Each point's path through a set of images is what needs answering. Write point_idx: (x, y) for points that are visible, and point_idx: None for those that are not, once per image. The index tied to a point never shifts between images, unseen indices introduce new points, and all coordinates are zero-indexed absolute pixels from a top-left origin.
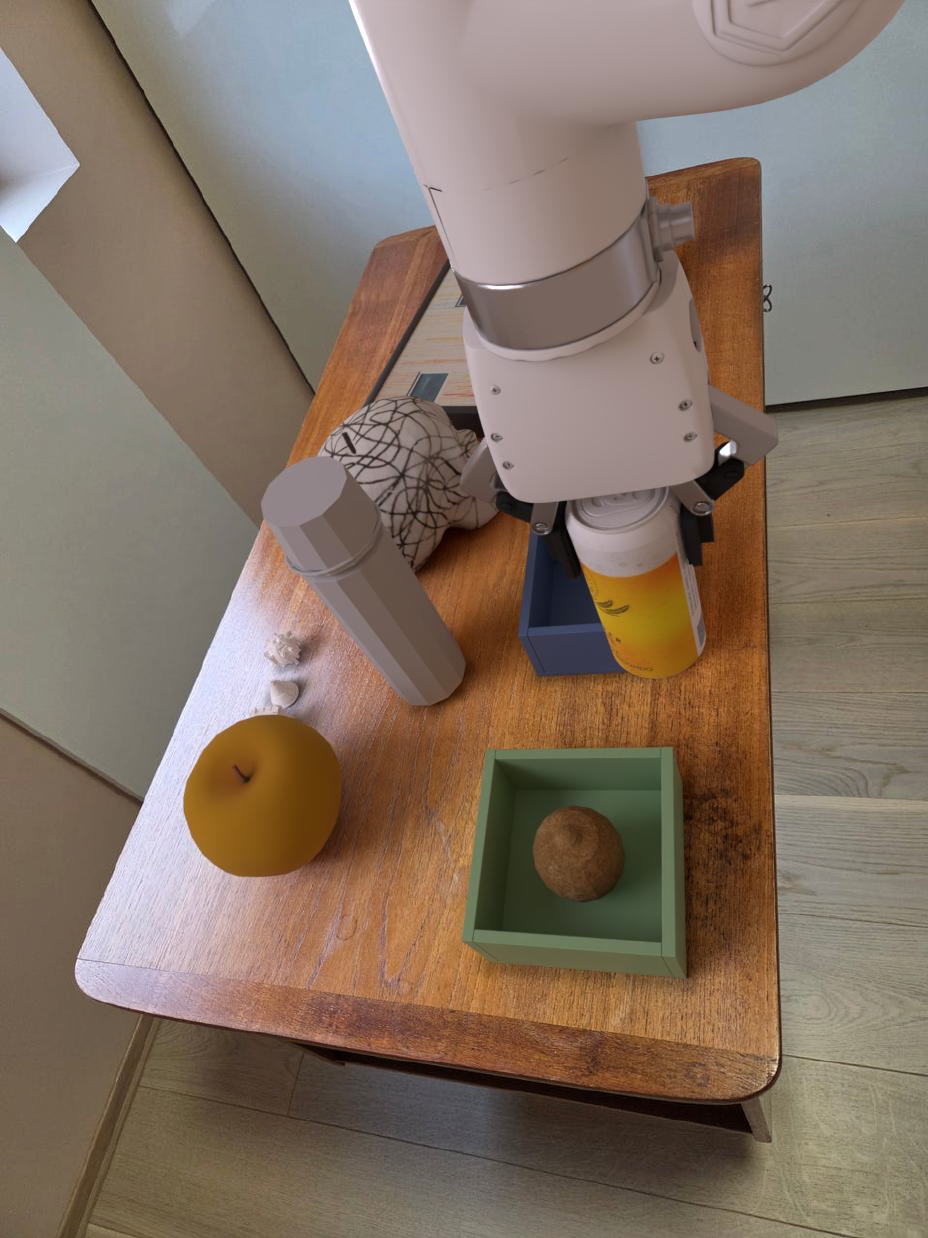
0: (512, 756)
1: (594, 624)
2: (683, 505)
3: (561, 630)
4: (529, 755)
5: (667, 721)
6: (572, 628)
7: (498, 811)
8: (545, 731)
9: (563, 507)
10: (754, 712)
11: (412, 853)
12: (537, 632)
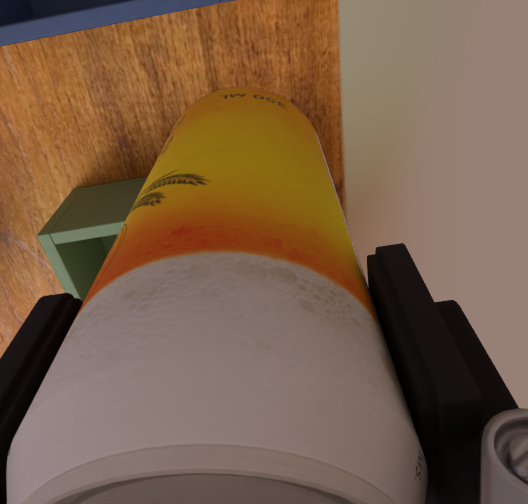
0: (75, 238)
1: (98, 11)
2: (432, 486)
3: (46, 30)
4: (95, 234)
5: (230, 79)
6: (63, 23)
7: (85, 267)
8: (83, 117)
9: (5, 491)
10: (333, 50)
11: (10, 272)
12: (5, 38)
